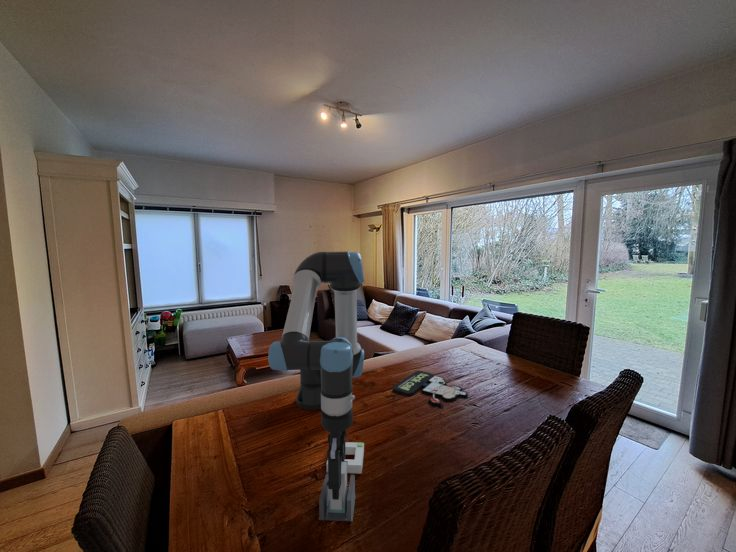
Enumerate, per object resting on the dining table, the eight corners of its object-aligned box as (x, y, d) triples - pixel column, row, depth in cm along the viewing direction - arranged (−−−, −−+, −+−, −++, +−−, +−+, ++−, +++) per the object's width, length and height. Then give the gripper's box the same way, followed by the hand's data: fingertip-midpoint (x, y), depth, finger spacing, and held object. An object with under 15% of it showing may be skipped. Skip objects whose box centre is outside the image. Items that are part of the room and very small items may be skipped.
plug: (328, 512, 71) (327, 473, 70) (331, 498, 75) (331, 461, 74) (345, 513, 71) (344, 473, 70) (347, 499, 75) (346, 461, 74)
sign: (417, 370, 156) (475, 385, 138) (417, 373, 156) (475, 389, 138) (389, 388, 135) (453, 409, 116) (389, 392, 135) (453, 413, 117)
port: (326, 474, 84) (326, 463, 84) (332, 450, 94) (332, 440, 94) (361, 475, 84) (361, 464, 83) (364, 451, 94) (363, 441, 93)
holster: (318, 521, 69) (318, 499, 69) (325, 494, 77) (324, 473, 77) (352, 523, 69) (352, 500, 68) (355, 495, 77) (355, 475, 76)
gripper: (348, 430, 62) (349, 533, 64) (355, 392, 79) (356, 474, 81) (313, 429, 63) (314, 531, 65) (328, 391, 80) (329, 473, 82)
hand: (337, 499), depth 73 cm, fingers closed on plug, 4 cm apart
